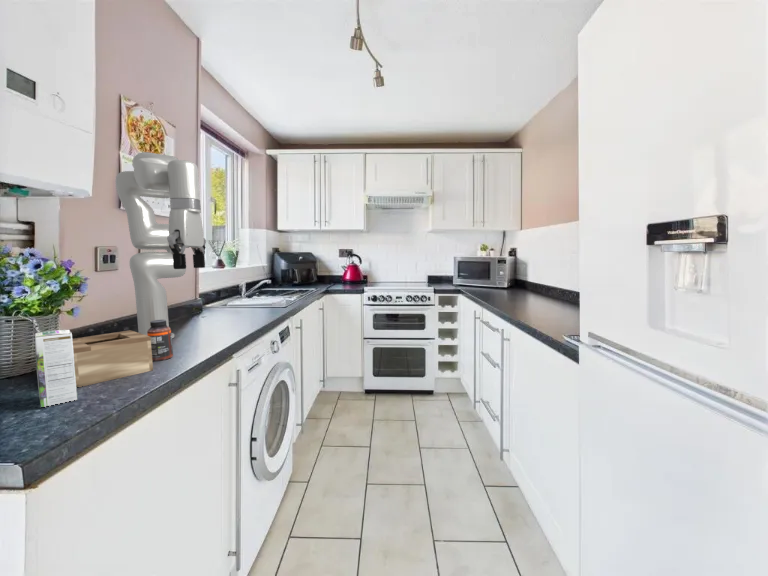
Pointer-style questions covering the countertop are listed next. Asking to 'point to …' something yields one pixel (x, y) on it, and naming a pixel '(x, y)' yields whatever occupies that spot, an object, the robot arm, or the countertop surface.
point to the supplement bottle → (160, 340)
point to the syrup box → (55, 367)
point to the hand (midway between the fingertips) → (190, 268)
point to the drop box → (111, 356)
